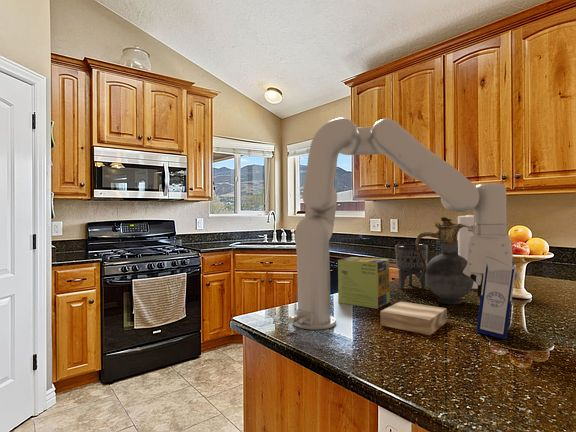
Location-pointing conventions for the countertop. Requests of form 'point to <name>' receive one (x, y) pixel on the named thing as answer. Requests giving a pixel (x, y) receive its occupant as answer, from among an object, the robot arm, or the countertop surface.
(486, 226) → the robot arm
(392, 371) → the countertop surface
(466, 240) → the cylinder container
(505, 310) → the milk carton
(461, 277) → the pitcher
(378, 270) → the protein box
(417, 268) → the planter
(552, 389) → the countertop surface
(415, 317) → the oak block
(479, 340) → the countertop surface
